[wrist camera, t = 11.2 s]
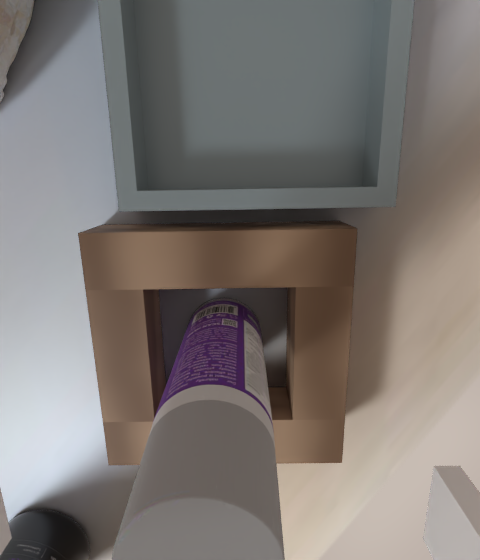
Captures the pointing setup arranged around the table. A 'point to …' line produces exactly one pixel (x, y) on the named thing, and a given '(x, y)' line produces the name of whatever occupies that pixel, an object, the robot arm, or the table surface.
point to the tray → (256, 102)
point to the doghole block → (222, 274)
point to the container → (209, 451)
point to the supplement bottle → (45, 537)
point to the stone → (12, 33)
